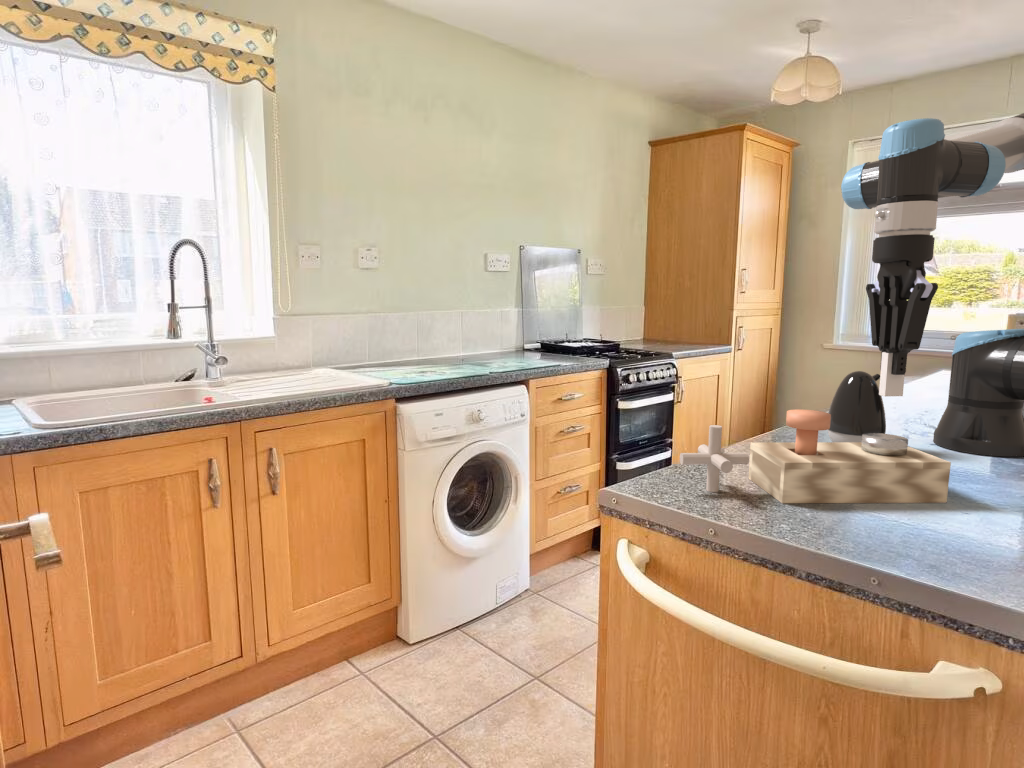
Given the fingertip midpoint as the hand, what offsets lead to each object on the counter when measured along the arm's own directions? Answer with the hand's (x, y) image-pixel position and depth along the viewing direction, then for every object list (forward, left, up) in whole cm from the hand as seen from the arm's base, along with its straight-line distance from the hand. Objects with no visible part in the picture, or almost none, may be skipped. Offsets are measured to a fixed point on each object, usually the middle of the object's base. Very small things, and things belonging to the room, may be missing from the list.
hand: (890, 395), depth 93 cm
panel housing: (+6, 0, -15) cm, 16 cm away
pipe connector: (+26, 0, -15) cm, 30 cm away
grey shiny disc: (0, 0, -14) cm, 14 cm away
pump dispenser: (-11, -26, -15) cm, 32 cm away
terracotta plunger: (+12, 0, -10) cm, 16 cm away
